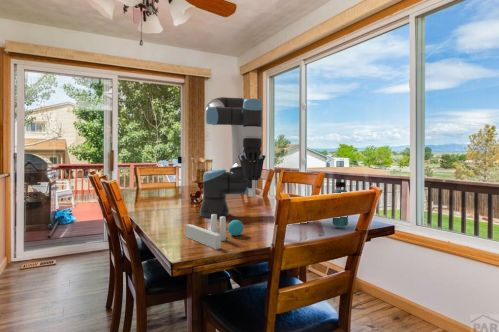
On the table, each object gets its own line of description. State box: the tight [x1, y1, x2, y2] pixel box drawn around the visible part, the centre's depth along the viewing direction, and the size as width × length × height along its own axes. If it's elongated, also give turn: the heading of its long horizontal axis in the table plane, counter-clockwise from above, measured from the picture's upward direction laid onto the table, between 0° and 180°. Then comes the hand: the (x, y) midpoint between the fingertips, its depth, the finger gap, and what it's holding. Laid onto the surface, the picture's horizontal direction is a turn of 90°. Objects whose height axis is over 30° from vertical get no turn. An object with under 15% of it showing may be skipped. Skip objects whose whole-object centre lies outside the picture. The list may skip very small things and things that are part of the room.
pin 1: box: [210, 214, 218, 233], centre depth 115 cm, size 2×2×8 cm
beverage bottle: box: [332, 181, 349, 227], centre depth 130 cm, size 6×7×20 cm
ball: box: [227, 219, 244, 237], centre depth 117 cm, size 6×6×6 cm
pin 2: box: [219, 216, 227, 242], centre depth 110 cm, size 2×2×8 cm
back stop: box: [185, 223, 222, 250], centre depth 108 cm, size 20×2×4 cm, turn 41°
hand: (251, 196), depth 123 cm, fingers closed
